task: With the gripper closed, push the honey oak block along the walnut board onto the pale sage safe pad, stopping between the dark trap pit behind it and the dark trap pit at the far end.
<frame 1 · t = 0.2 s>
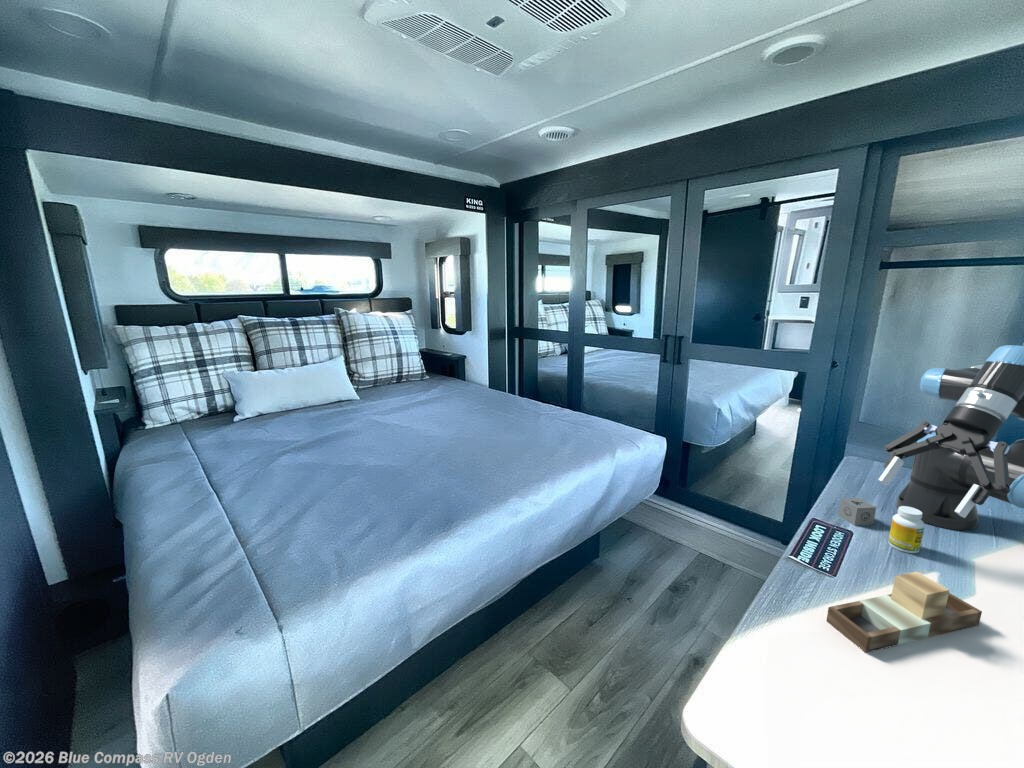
hand: (918, 497, 87), 16 cm above the table, tool tilted 35°, fingers open, 13 cm apart
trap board: (905, 622, 74), on the table
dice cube: (855, 520, 107), on the table
oak block: (916, 606, 74), point 3 cm above the table, touching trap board
supplement bottle: (903, 547, 96), on the table
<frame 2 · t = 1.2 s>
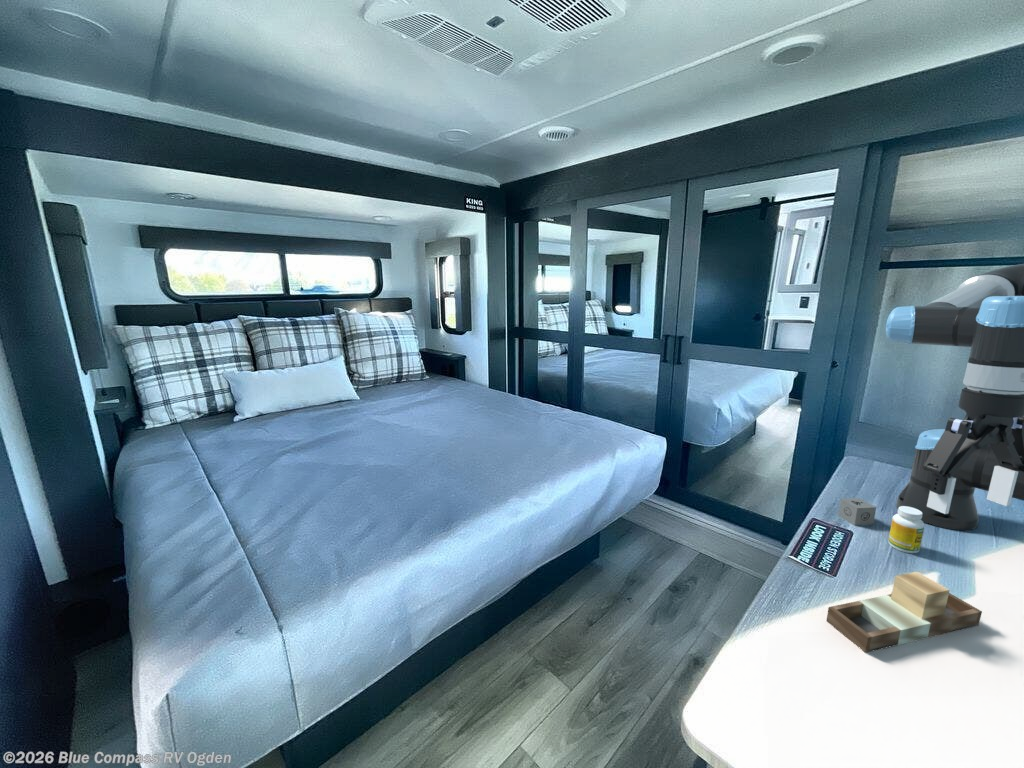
hand: (968, 506, 72), 22 cm above the table, tool pointing down, fingers open, 13 cm apart
nothing on the table moved.
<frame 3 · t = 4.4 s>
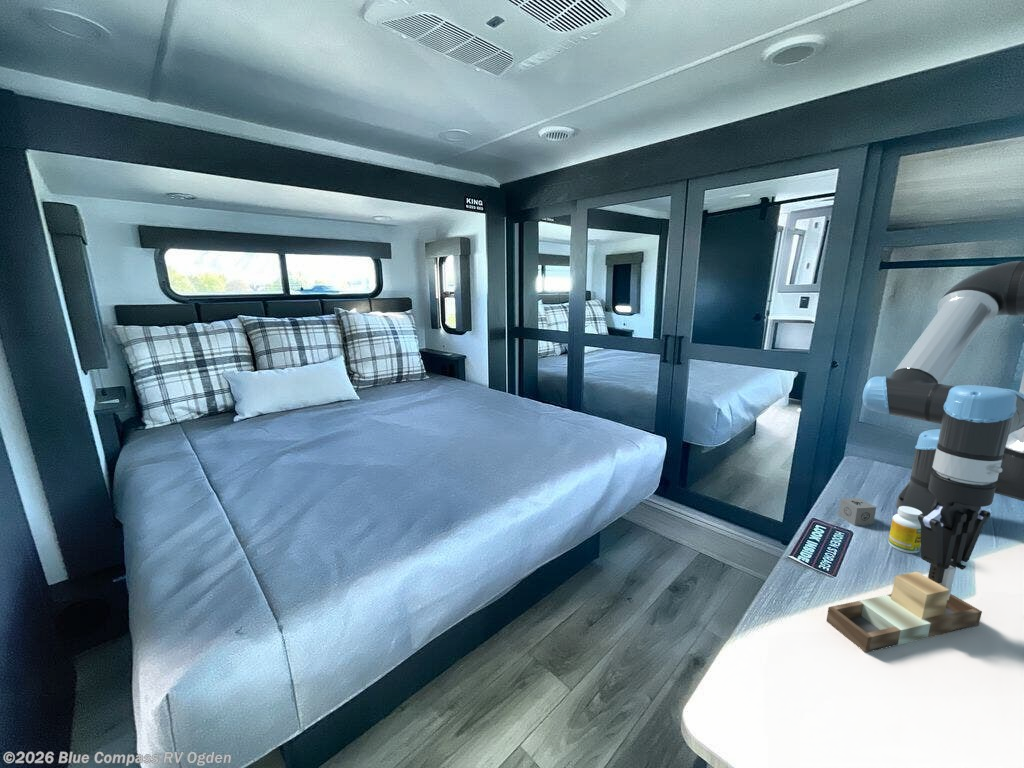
hand: (936, 595, 75), 5 cm above the table, tool pointing down, fingers closed
oak block: (916, 606, 74), point 3 cm above the table, touching gripper, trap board
everything else where it was.
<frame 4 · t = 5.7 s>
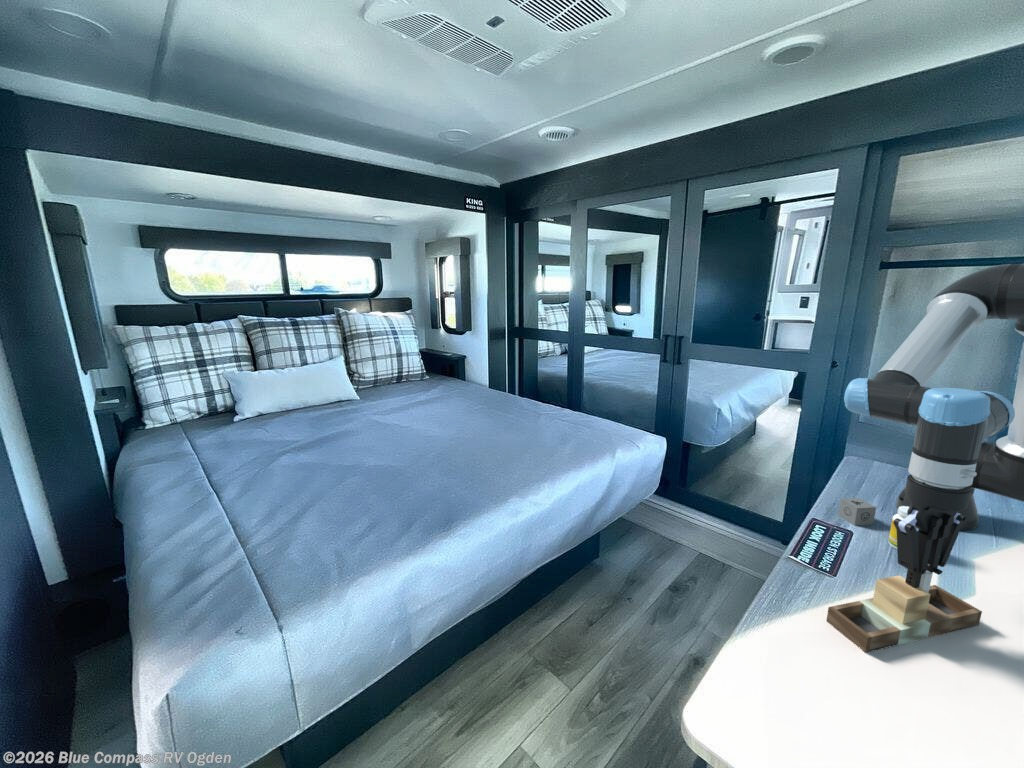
hand: (914, 600, 74), 5 cm above the table, tool pointing down, fingers closed
oak block: (898, 610, 73), point 3 cm above the table, touching gripper, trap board
everything else where it was.
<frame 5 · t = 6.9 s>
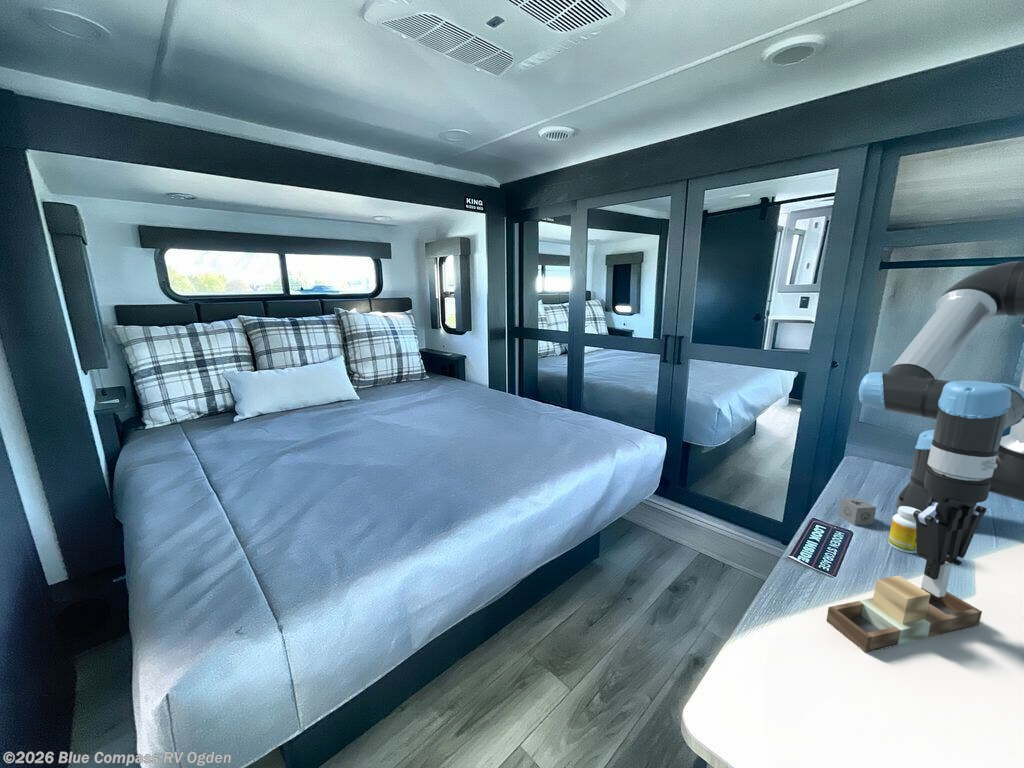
hand: (932, 591, 74), 5 cm above the table, tool pointing down, fingers closed
oak block: (898, 610, 73), point 3 cm above the table, touching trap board
everything else where it was.
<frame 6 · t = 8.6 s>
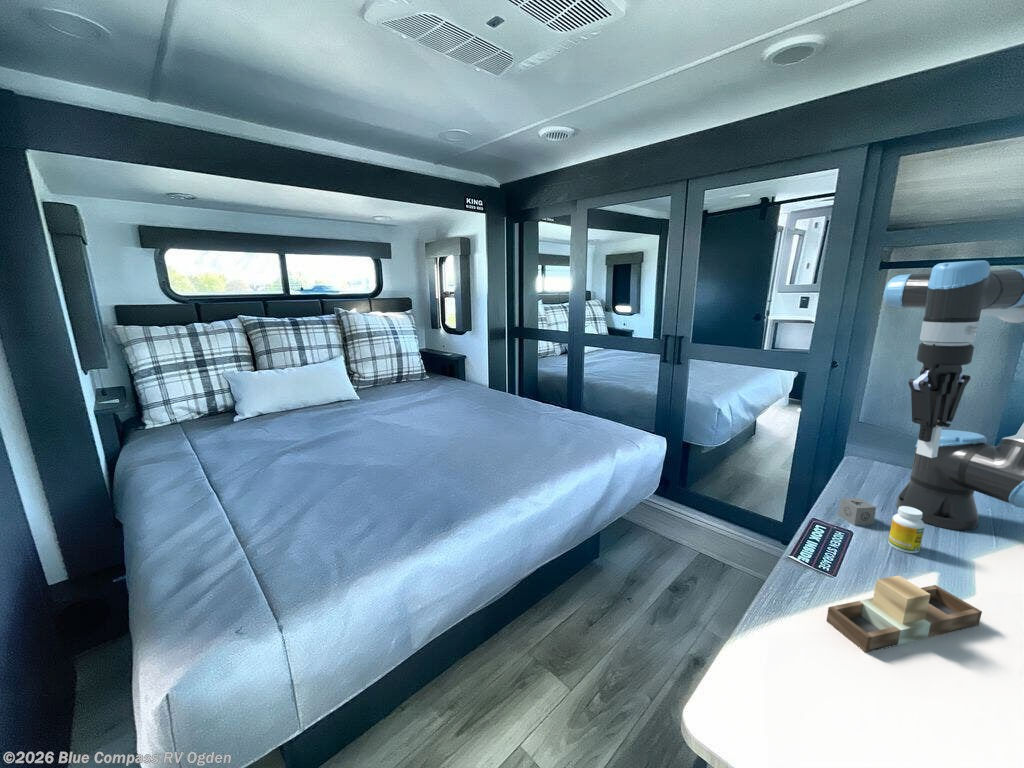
hand: (926, 454, 85), 25 cm above the table, tool pointing down, fingers closed
nothing on the table moved.
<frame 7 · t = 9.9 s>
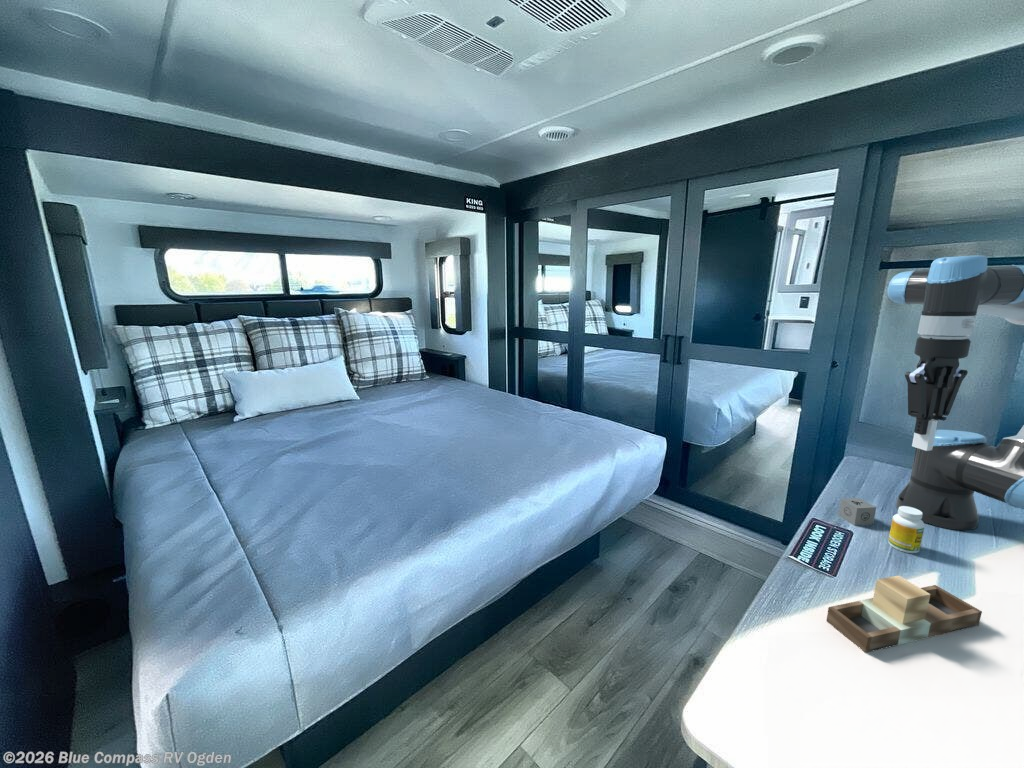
hand: (921, 448, 86), 26 cm above the table, tool pointing down, fingers closed
nothing on the table moved.
at the end: oak block 1.0 cm from the target spot on the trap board, point 3.0 cm above the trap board's base; oak block tilted 0°; the gripper is holding nothing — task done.
